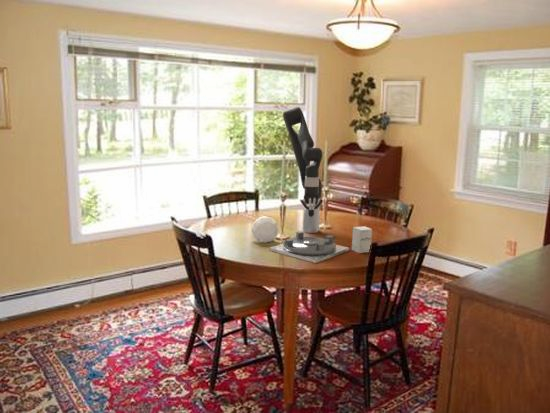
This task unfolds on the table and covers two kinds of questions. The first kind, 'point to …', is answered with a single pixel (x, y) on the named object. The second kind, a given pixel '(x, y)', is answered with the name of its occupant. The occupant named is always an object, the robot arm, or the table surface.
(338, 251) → the base plate
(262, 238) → the white ball
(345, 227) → the table surface
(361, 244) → the supplement box
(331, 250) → the grey flat round piece
